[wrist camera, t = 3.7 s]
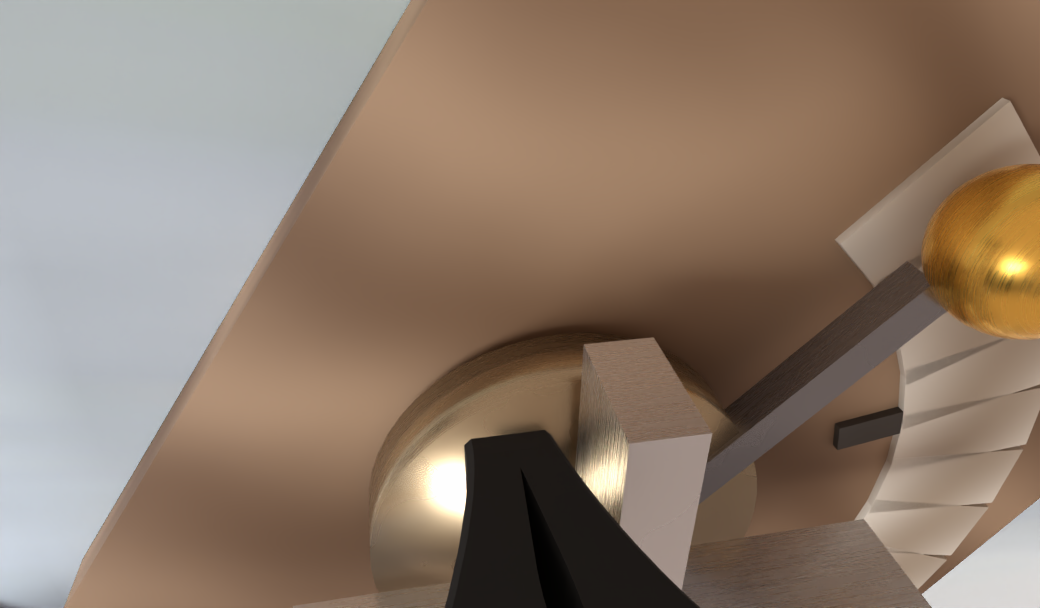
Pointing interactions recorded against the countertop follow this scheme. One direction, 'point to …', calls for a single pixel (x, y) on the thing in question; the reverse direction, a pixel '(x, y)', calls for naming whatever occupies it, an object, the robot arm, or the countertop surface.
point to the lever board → (607, 272)
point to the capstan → (700, 428)
